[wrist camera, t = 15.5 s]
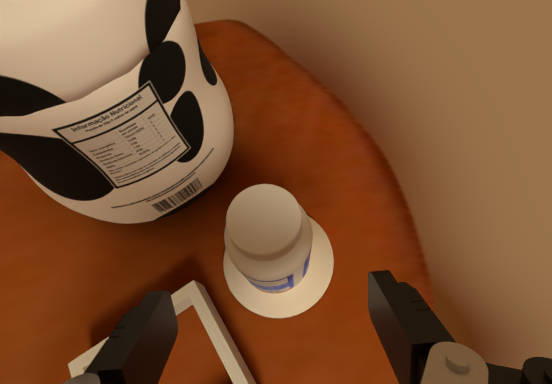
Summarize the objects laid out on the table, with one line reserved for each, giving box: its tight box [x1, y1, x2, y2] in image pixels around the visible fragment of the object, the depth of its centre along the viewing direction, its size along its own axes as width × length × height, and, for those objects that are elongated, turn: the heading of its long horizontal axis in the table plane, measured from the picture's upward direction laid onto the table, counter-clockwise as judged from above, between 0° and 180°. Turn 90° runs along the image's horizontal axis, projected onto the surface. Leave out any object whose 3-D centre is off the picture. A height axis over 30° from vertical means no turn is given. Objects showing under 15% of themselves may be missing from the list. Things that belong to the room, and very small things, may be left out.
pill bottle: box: [224, 184, 313, 294], centre depth 19 cm, size 5×5×10 cm
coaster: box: [223, 216, 334, 318], centre depth 24 cm, size 9×9×1 cm
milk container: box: [0, 0, 234, 224], centre depth 22 cm, size 17×17×18 cm
